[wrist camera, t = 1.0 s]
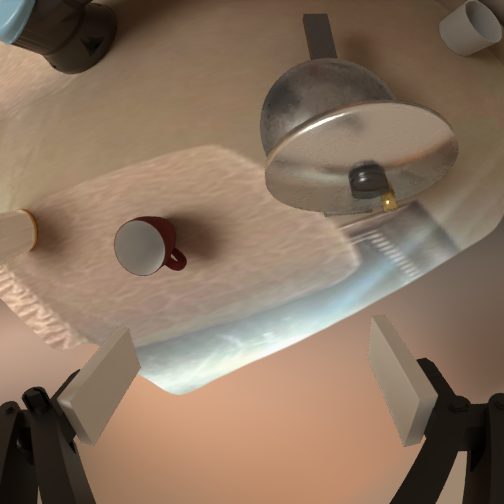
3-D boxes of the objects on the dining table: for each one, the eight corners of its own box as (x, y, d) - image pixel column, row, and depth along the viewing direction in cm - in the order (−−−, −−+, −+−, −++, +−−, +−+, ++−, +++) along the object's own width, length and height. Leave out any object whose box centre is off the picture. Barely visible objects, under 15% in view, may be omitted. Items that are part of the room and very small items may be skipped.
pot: (248, 43, 41) (243, 17, 32) (364, 38, 39) (382, 14, 30) (271, 211, 48) (271, 222, 39) (388, 199, 47) (413, 208, 37)
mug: (206, 233, 50) (191, 249, 40) (184, 272, 52) (165, 296, 43) (153, 200, 49) (127, 208, 40) (133, 240, 51) (106, 256, 42)
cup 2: (452, 58, 38) (481, 44, 29) (431, 20, 37) (456, 0, 27) (479, 53, 37) (508, 40, 27) (460, 17, 35) (485, 0, 26)
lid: (252, 106, 19) (256, 142, 18) (485, 106, 17) (501, 138, 17) (271, 214, 39) (274, 238, 38) (412, 201, 37) (418, 223, 36)
